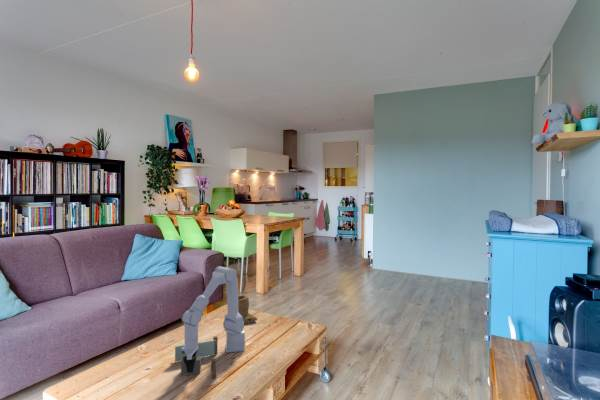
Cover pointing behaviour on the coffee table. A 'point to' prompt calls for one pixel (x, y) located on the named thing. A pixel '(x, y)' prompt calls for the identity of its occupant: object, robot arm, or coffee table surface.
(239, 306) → the brown boot
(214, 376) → the door frame
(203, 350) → the door
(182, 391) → the coffee table surface
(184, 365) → the block
